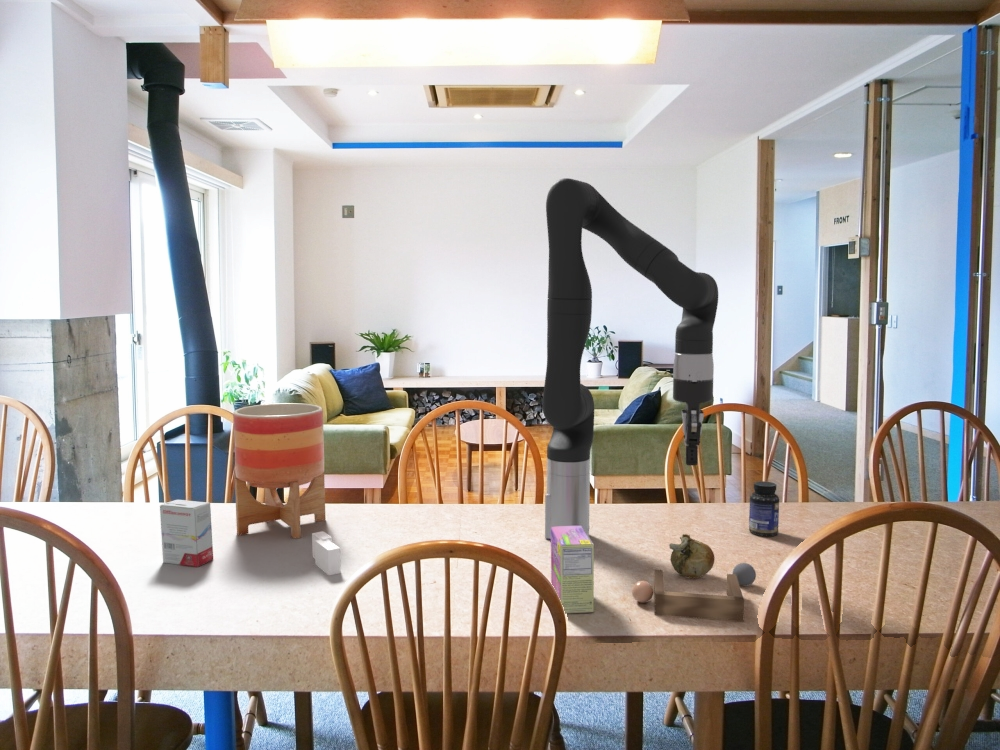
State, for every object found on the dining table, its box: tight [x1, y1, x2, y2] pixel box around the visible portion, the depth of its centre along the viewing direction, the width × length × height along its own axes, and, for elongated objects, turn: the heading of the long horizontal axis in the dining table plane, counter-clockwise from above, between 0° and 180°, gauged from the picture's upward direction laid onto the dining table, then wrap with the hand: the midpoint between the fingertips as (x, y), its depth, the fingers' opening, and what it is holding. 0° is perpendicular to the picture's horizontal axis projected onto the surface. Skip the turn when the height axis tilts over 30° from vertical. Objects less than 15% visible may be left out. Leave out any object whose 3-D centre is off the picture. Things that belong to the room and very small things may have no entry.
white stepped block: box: [311, 530, 342, 576], centre depth 149 cm, size 15×11×6 cm
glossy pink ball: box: [631, 580, 654, 604], centre depth 131 cm, size 4×4×4 cm
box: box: [550, 526, 595, 615], centre depth 130 cm, size 10×6×12 cm, turn 5°
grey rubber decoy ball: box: [732, 562, 757, 587], centre depth 138 cm, size 4×4×4 cm
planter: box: [232, 402, 326, 539], centre depth 171 cm, size 20×20×27 cm
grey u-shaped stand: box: [653, 568, 745, 622], centre depth 130 cm, size 14×12×4 cm
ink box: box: [159, 499, 214, 568], centre depth 150 cm, size 9×5×12 cm, turn 71°
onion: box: [668, 533, 716, 579], centre depth 142 cm, size 8×8×8 cm
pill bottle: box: [748, 480, 780, 538], centre depth 167 cm, size 6×6×11 cm
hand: (691, 464), depth 149 cm, fingers closed
